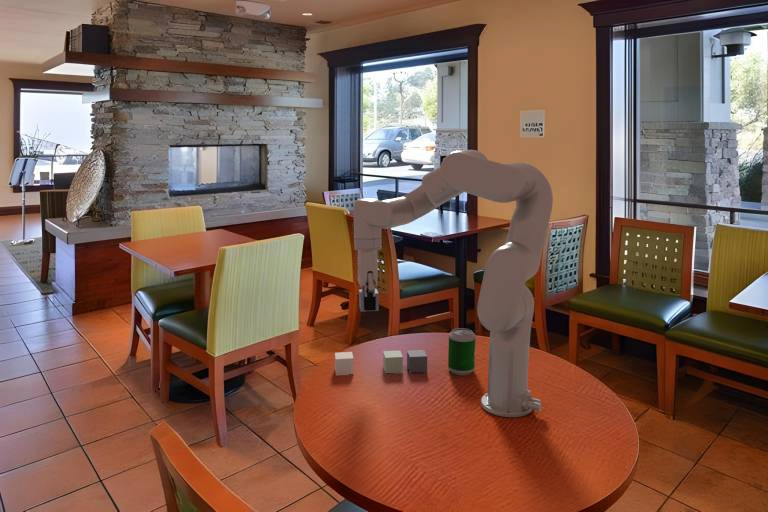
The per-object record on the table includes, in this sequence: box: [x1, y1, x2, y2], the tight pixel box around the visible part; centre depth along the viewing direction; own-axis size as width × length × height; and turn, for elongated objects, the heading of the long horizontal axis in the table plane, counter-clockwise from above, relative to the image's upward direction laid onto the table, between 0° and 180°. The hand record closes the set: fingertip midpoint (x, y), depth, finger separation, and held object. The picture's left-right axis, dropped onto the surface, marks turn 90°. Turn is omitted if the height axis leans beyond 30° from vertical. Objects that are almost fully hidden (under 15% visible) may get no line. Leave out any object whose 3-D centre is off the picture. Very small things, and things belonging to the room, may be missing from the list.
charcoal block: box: [406, 349, 428, 373], centre depth 164 cm, size 5×5×5 cm
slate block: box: [358, 288, 380, 313], centre depth 159 cm, size 5×5×5 cm
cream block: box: [334, 351, 355, 376], centre depth 162 cm, size 5×5×5 cm
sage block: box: [382, 350, 404, 375], centre depth 163 cm, size 5×5×5 cm
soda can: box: [447, 327, 477, 376], centre depth 161 cm, size 8×8×12 cm
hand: (368, 306), depth 159 cm, fingers closed on slate block, 4 cm apart
